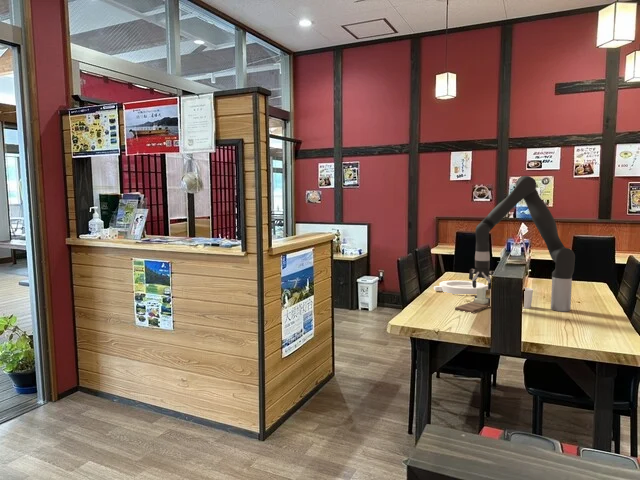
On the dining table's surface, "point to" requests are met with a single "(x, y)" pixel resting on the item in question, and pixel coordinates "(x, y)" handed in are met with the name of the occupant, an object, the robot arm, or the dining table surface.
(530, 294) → the white cup
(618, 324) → the dining table surface
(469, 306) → the rail
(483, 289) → the block
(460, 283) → the ring with crossbar
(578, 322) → the dining table surface
